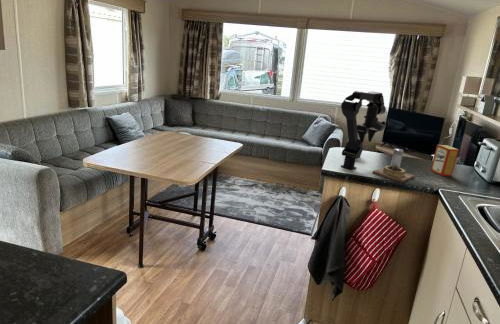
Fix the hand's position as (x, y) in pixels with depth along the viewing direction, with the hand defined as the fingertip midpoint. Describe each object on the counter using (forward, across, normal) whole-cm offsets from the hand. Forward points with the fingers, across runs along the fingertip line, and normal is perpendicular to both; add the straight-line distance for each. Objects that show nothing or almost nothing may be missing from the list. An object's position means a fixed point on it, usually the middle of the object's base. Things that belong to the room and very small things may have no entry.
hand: (365, 142), depth 205 cm
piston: (+12, -2, -20) cm, 23 cm away
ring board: (+13, -2, -20) cm, 24 cm away
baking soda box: (+13, +33, -33) cm, 49 cm away
